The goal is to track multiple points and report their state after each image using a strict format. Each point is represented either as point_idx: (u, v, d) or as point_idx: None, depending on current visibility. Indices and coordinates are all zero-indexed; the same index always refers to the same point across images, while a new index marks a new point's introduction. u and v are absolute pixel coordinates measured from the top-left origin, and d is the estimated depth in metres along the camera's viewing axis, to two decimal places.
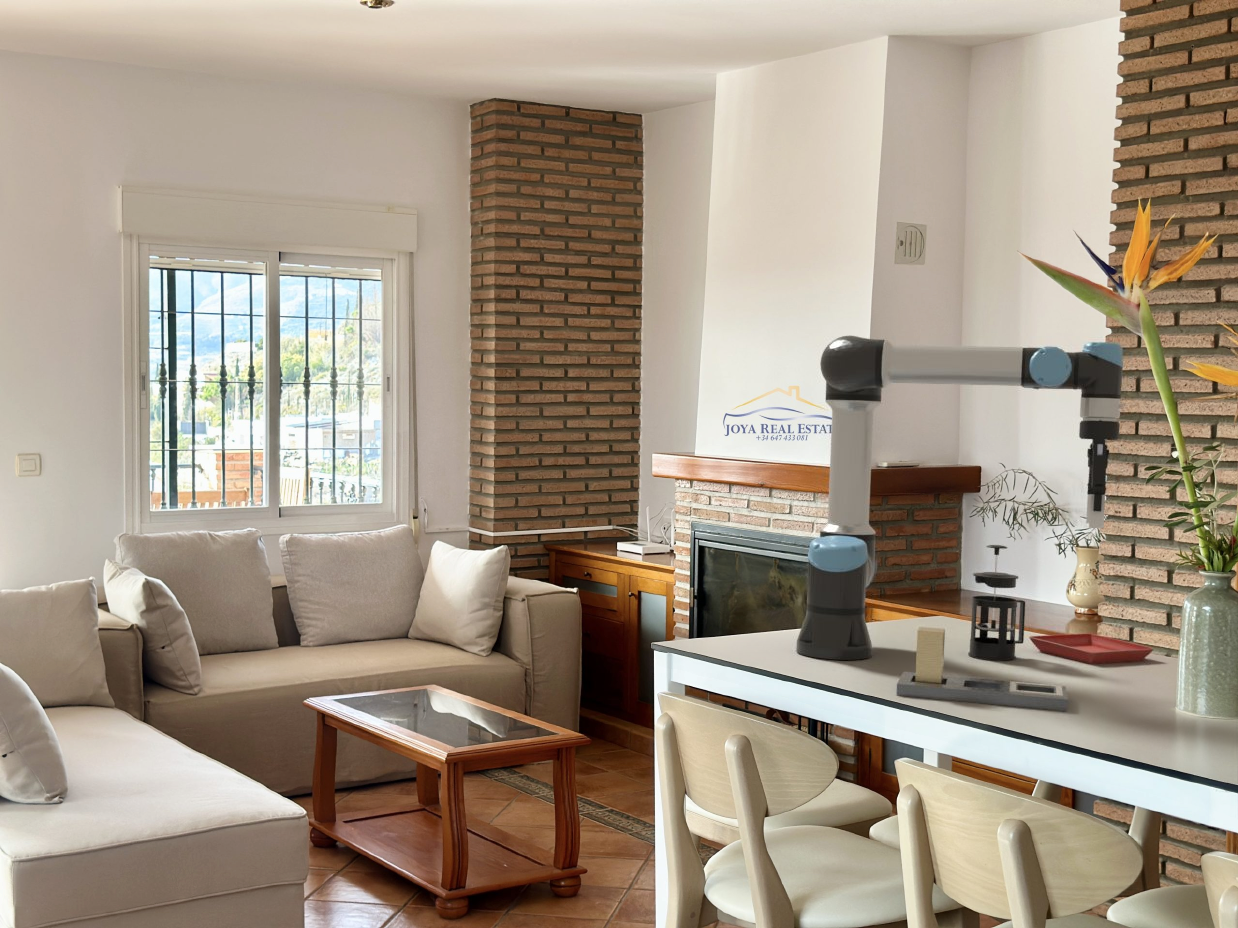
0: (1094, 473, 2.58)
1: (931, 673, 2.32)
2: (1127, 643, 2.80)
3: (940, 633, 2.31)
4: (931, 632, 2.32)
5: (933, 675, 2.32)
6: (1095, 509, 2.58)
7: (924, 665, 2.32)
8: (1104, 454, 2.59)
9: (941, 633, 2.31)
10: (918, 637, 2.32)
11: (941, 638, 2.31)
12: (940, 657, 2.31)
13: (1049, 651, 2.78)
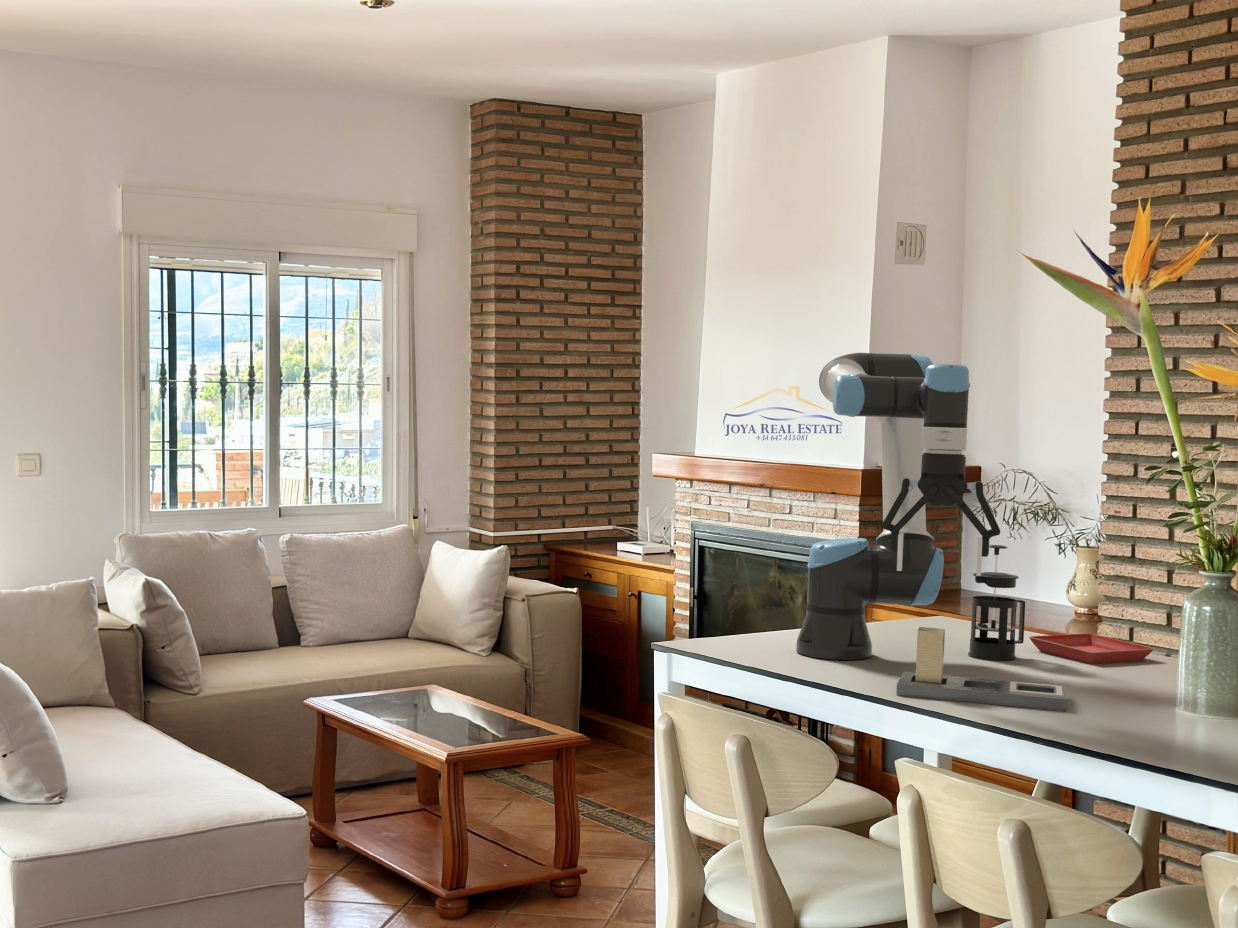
0: None
1: (931, 673, 2.32)
2: (1127, 643, 2.80)
3: (940, 633, 2.31)
4: (931, 632, 2.32)
5: (933, 675, 2.32)
6: None
7: (924, 665, 2.32)
8: (901, 489, 2.35)
9: (941, 633, 2.31)
10: (918, 637, 2.32)
11: (941, 638, 2.31)
12: (940, 657, 2.31)
13: (1049, 651, 2.78)
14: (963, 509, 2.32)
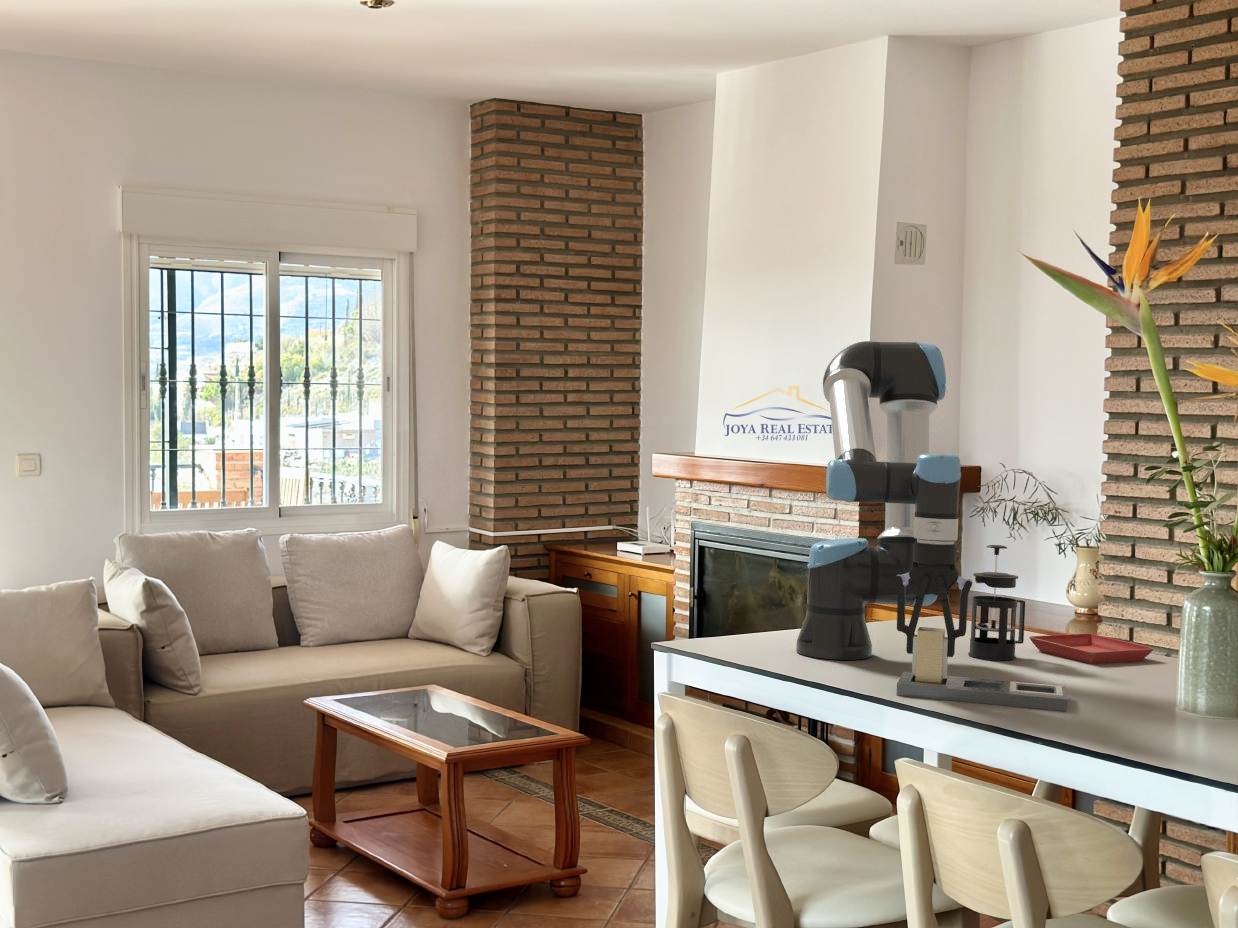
0: None
1: (931, 673, 2.32)
2: (1127, 643, 2.80)
3: (940, 633, 2.31)
4: (931, 632, 2.32)
5: (933, 675, 2.32)
6: None
7: (924, 665, 2.32)
8: None
9: (941, 633, 2.31)
10: (918, 637, 2.32)
11: (941, 638, 2.31)
12: (940, 657, 2.31)
13: (1049, 651, 2.78)
14: (943, 603, 2.32)
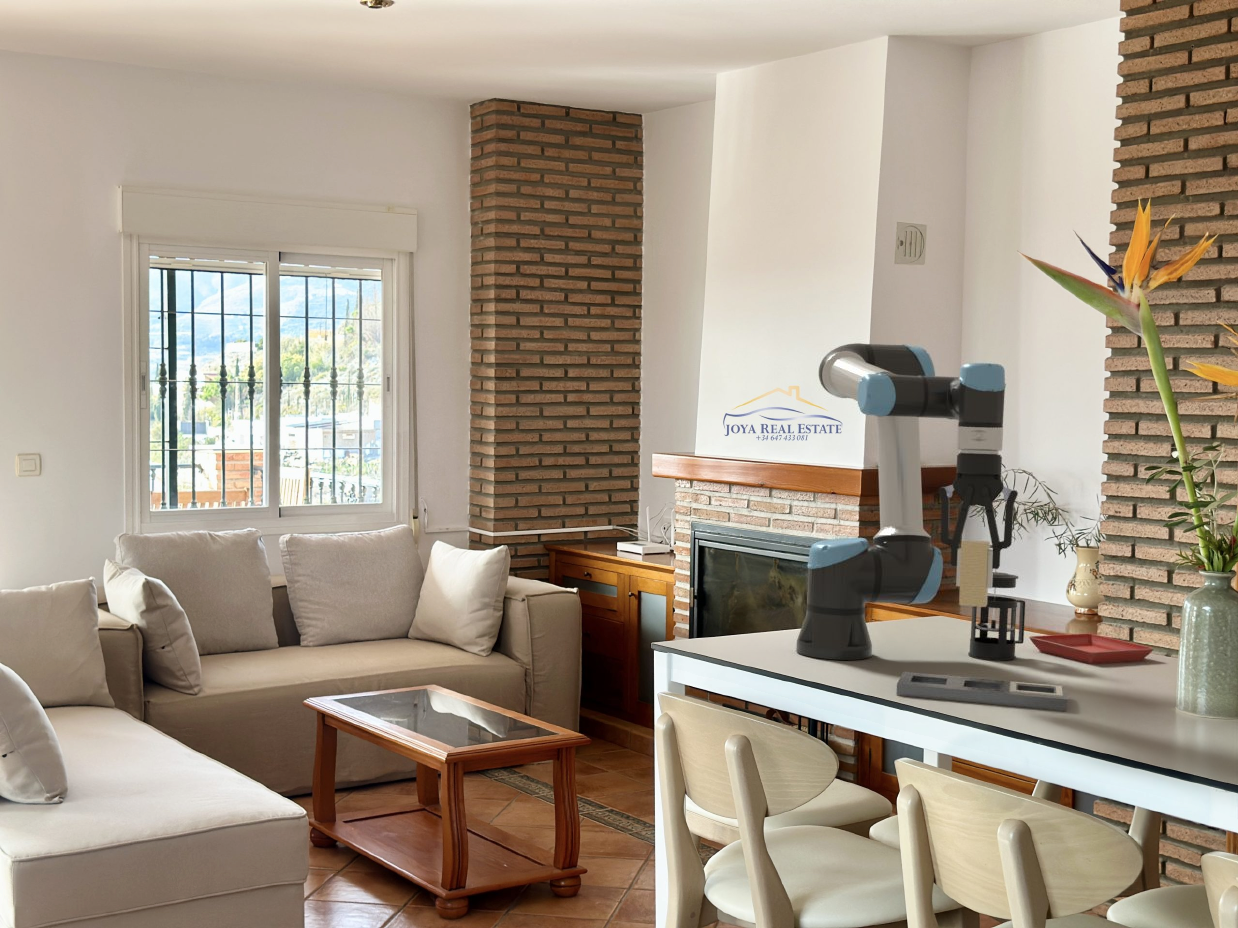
0: None
1: (976, 585, 2.29)
2: (1127, 643, 2.80)
3: (985, 544, 2.28)
4: (975, 543, 2.29)
5: (978, 587, 2.28)
6: None
7: (968, 577, 2.29)
8: None
9: (986, 544, 2.28)
10: (962, 548, 2.29)
11: (986, 549, 2.28)
12: (985, 568, 2.28)
13: (1049, 651, 2.78)
14: (988, 514, 2.29)
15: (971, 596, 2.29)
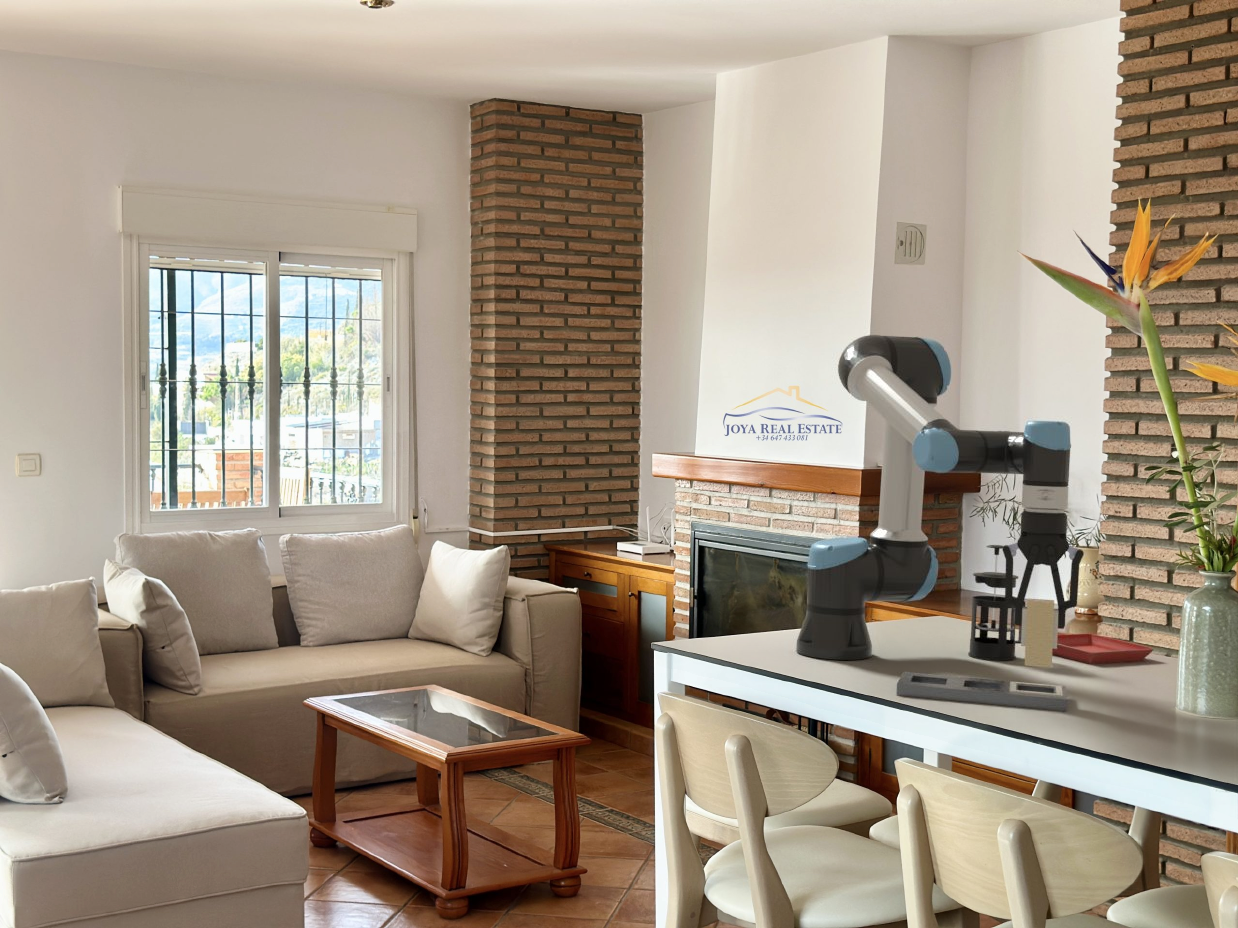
0: None
1: (1042, 645, 2.26)
2: (1127, 643, 2.80)
3: (1051, 604, 2.25)
4: (1041, 603, 2.26)
5: (1044, 647, 2.26)
6: None
7: (1034, 637, 2.26)
8: (1005, 558, 2.29)
9: (1052, 604, 2.25)
10: (1028, 608, 2.27)
11: (1052, 609, 2.25)
12: (1051, 628, 2.25)
13: None
14: (1053, 573, 2.26)
15: (1037, 656, 2.26)
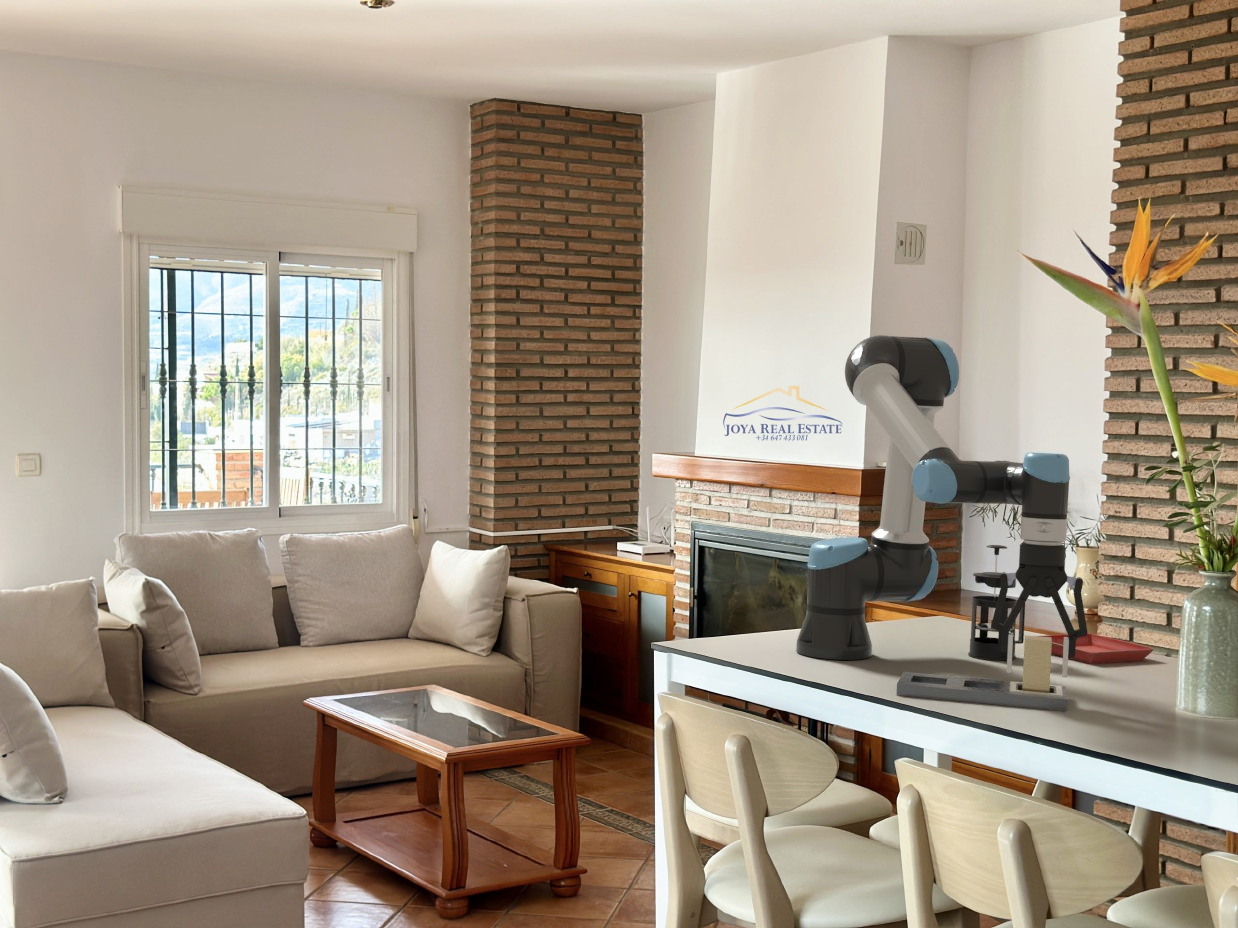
0: None
1: (1039, 683, 2.26)
2: (1127, 643, 2.80)
3: (1048, 642, 2.26)
4: (1039, 641, 2.26)
5: (1041, 685, 2.26)
6: None
7: (1031, 675, 2.27)
8: None
9: (1049, 642, 2.26)
10: (1025, 646, 2.27)
11: (1049, 647, 2.26)
12: (1048, 666, 2.26)
13: None
14: (1057, 604, 2.26)
15: None
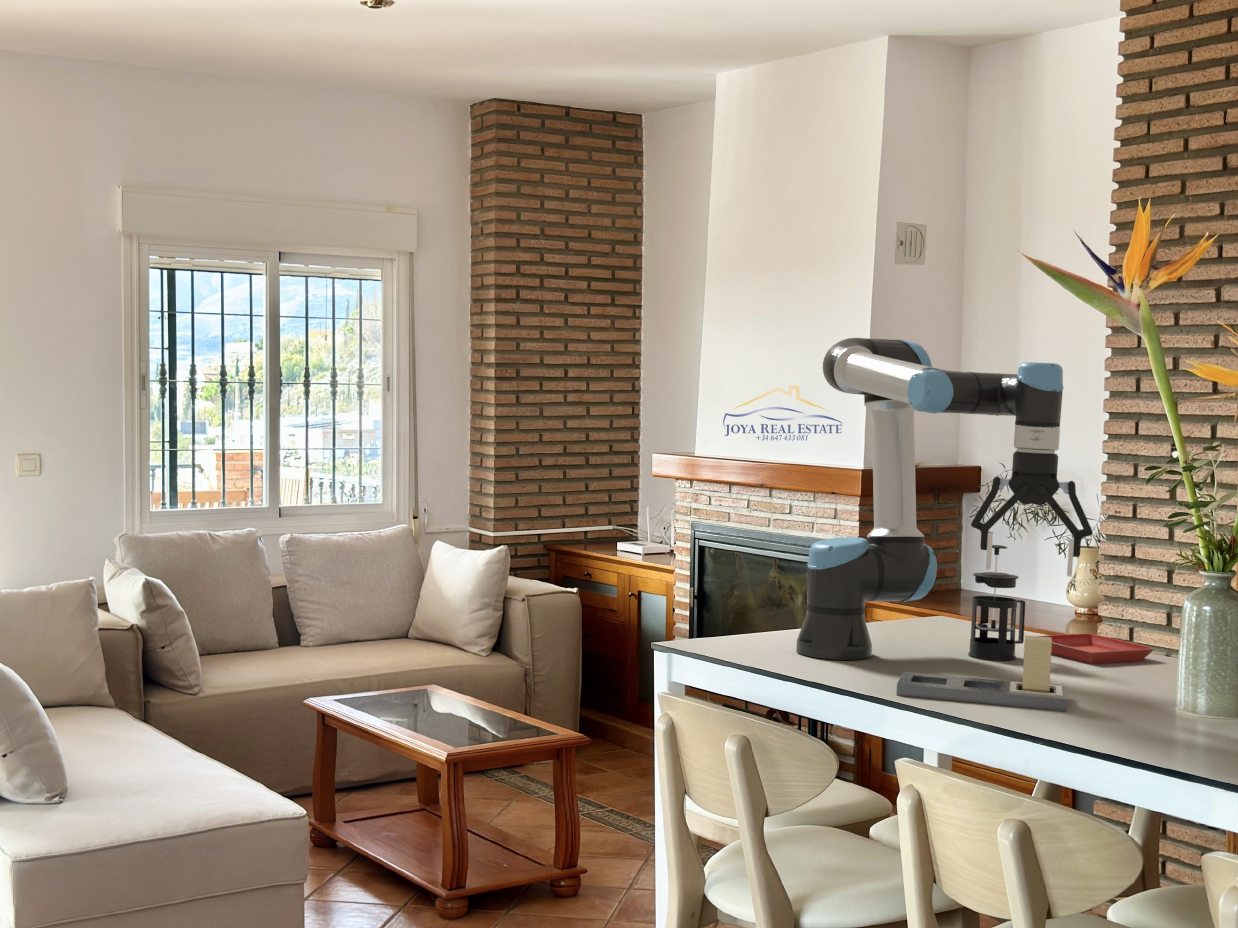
0: None
1: (1039, 683, 2.26)
2: (1127, 643, 2.80)
3: (1048, 642, 2.26)
4: (1039, 641, 2.26)
5: (1041, 685, 2.26)
6: None
7: (1031, 675, 2.27)
8: None
9: (1049, 642, 2.26)
10: (1025, 646, 2.27)
11: (1049, 647, 2.26)
12: (1048, 666, 2.26)
13: None
14: (1055, 509, 2.30)
15: None
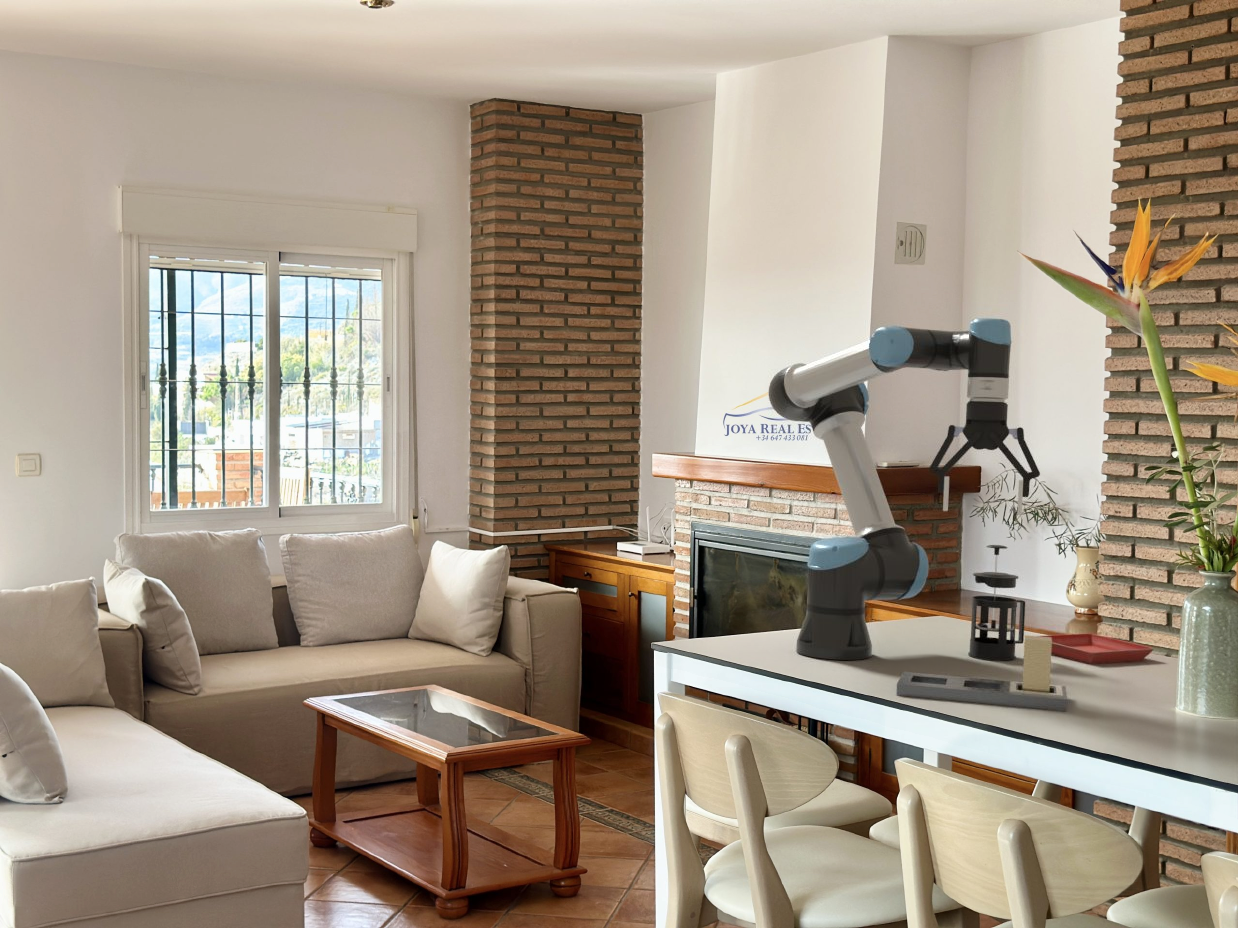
0: None
1: (1039, 683, 2.26)
2: (1127, 643, 2.80)
3: (1048, 642, 2.26)
4: (1039, 641, 2.26)
5: (1041, 685, 2.26)
6: None
7: (1031, 675, 2.27)
8: (947, 435, 2.53)
9: (1049, 642, 2.26)
10: (1025, 646, 2.27)
11: (1049, 647, 2.26)
12: (1048, 666, 2.26)
13: None
14: (1005, 453, 2.49)
15: None
